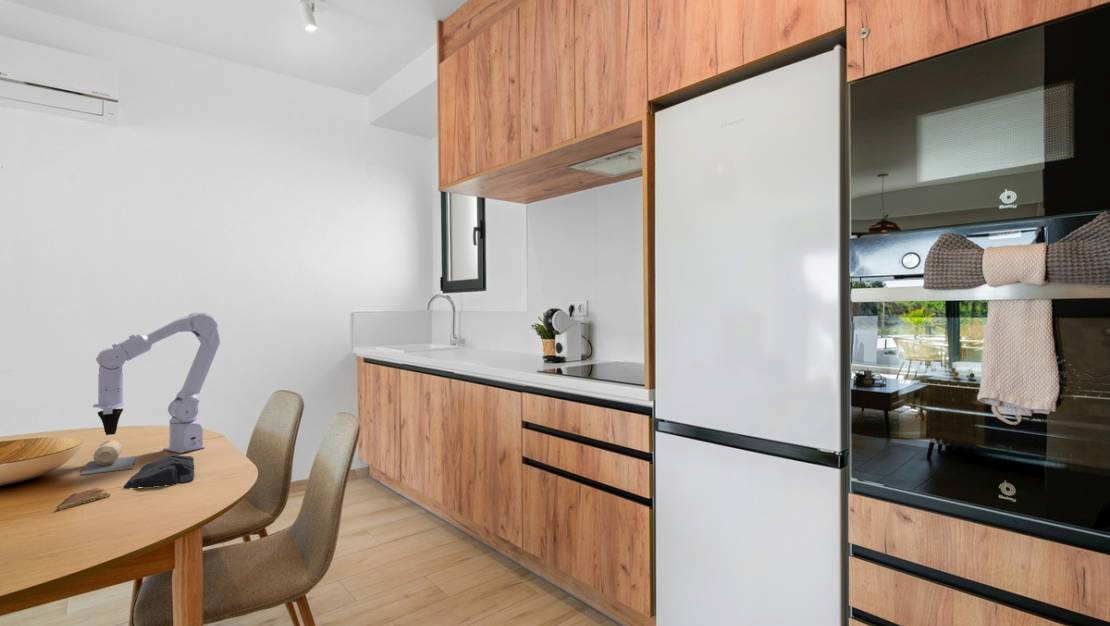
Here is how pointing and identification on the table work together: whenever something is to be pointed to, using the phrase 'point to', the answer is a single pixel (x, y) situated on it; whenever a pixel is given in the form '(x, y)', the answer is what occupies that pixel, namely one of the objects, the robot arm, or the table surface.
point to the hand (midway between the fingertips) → (110, 434)
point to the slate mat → (109, 466)
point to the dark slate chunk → (164, 472)
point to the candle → (107, 452)
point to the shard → (83, 497)
